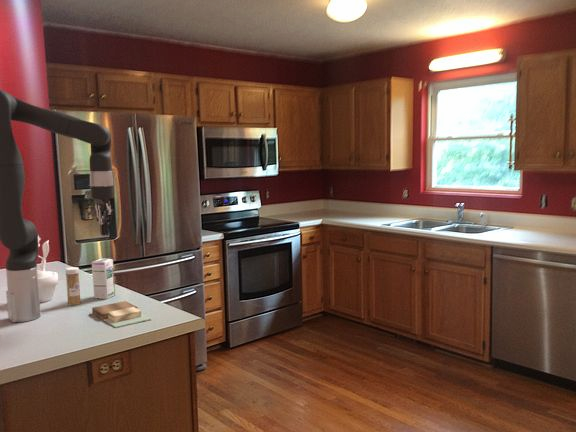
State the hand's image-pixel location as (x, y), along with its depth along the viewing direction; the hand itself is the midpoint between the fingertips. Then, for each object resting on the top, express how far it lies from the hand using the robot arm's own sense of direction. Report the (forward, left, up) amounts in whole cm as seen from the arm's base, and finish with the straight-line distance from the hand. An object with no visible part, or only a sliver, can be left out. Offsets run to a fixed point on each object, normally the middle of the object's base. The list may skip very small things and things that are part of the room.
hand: (104, 235), depth 181 cm
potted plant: (-14, +31, -27) cm, 44 cm away
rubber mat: (+1, -14, -27) cm, 30 cm away
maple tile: (+1, -11, -27) cm, 29 cm away
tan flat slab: (+1, -3, -27) cm, 27 cm away
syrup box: (+6, +20, -27) cm, 34 cm away
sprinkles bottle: (-6, +18, -27) cm, 33 cm away
